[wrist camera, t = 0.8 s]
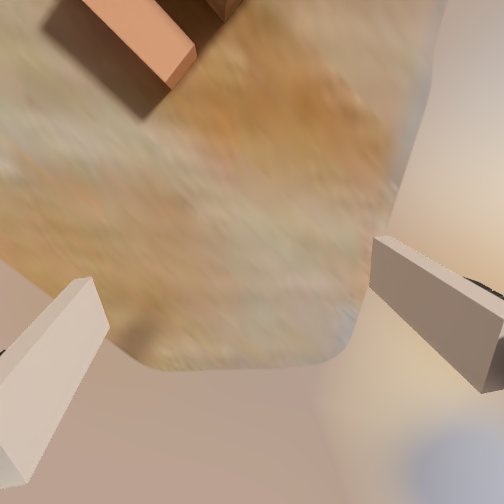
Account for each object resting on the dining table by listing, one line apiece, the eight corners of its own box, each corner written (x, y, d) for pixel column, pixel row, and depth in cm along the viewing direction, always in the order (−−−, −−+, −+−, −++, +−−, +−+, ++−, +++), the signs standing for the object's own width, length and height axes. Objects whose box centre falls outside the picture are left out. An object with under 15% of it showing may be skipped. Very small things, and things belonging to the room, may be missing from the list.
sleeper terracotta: (72, -10, 25) (43, -39, 21) (98, -50, 24) (74, -89, 20) (172, 90, 29) (165, 82, 25) (197, 57, 28) (194, 44, 24)
